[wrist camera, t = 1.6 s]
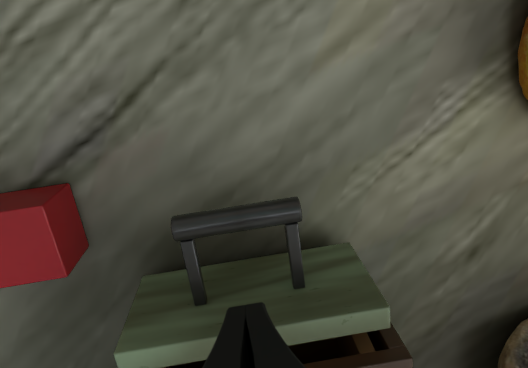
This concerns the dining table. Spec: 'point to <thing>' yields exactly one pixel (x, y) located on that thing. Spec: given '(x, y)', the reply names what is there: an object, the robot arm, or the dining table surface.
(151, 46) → the dining table surface
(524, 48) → the decorated donut
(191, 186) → the dining table surface
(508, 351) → the pipe
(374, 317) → the drawer
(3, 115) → the dining table surface
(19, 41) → the dining table surface
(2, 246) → the chocolate bar
